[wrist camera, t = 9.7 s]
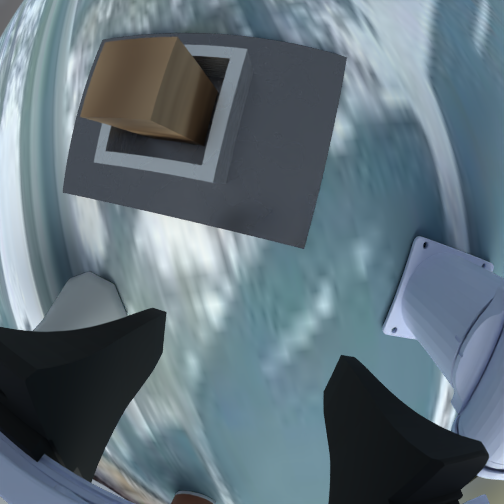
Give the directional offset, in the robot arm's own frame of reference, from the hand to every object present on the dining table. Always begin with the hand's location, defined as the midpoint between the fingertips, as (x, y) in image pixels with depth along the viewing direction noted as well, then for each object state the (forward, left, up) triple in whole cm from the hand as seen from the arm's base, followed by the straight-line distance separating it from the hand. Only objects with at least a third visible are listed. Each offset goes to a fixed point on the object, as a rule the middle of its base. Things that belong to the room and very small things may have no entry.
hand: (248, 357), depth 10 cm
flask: (+14, +7, -10) cm, 19 cm away
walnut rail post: (+8, -10, -9) cm, 16 cm away
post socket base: (+8, -10, -10) cm, 16 cm away
